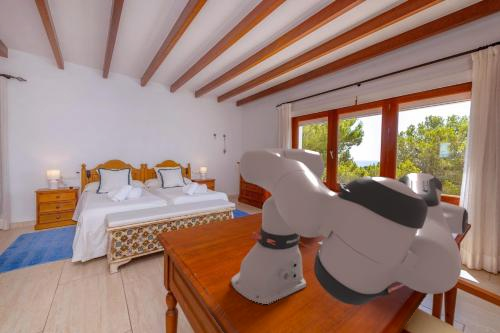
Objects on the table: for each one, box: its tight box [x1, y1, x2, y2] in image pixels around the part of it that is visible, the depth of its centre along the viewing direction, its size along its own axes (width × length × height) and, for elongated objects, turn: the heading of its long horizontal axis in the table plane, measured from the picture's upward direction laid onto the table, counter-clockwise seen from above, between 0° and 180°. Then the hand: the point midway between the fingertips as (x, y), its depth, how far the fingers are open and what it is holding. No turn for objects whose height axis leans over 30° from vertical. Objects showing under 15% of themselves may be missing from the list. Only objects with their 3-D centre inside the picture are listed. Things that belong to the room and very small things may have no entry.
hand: (365, 200), depth 84 cm, fingers closed on birch block, 5 cm apart
